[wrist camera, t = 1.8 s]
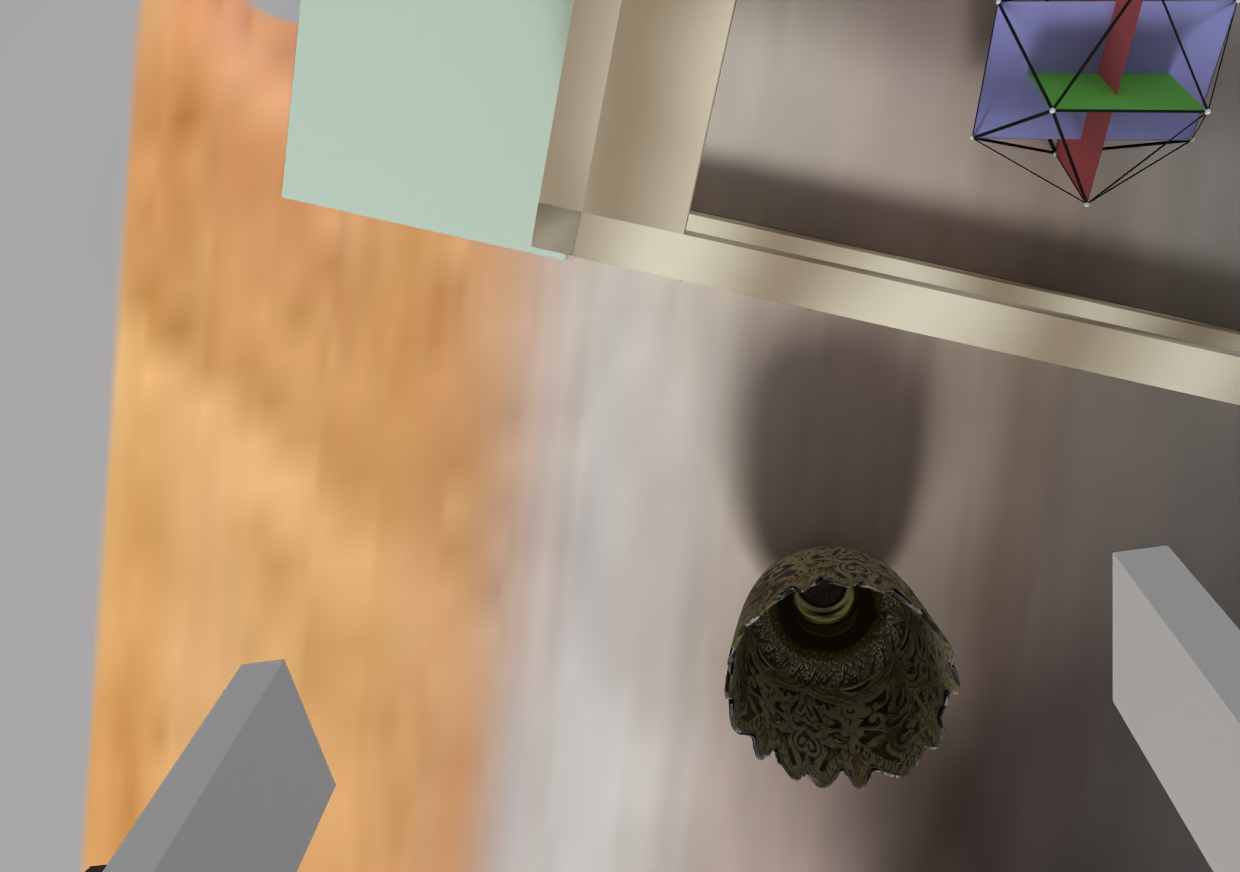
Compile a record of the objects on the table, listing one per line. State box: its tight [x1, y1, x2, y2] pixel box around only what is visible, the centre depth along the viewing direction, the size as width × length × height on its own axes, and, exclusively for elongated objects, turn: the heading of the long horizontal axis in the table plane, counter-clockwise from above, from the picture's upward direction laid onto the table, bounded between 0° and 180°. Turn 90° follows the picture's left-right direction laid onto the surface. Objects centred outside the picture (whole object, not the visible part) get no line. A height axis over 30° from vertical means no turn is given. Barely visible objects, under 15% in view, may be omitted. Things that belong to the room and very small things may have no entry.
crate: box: [531, 0, 1240, 405], centre depth 28 cm, size 30×16×10 cm, turn 78°
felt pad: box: [282, 0, 574, 261], centre depth 35 cm, size 11×11×1 cm
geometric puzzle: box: [970, 0, 1240, 207], centre depth 30 cm, size 7×7×8 cm
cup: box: [725, 545, 960, 789], centre depth 35 cm, size 8×7×8 cm
